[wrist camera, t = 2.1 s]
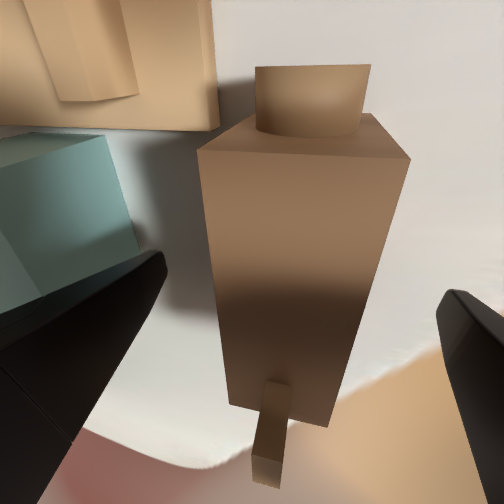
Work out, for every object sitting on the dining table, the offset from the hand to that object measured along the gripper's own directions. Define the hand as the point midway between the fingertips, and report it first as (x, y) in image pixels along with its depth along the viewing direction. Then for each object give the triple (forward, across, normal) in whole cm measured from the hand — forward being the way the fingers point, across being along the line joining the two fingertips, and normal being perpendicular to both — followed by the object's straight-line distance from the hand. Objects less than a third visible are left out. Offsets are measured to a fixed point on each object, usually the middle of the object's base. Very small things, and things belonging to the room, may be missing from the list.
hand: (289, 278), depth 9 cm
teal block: (+3, +9, 0) cm, 10 cm away
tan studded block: (+3, 0, 0) cm, 3 cm away
